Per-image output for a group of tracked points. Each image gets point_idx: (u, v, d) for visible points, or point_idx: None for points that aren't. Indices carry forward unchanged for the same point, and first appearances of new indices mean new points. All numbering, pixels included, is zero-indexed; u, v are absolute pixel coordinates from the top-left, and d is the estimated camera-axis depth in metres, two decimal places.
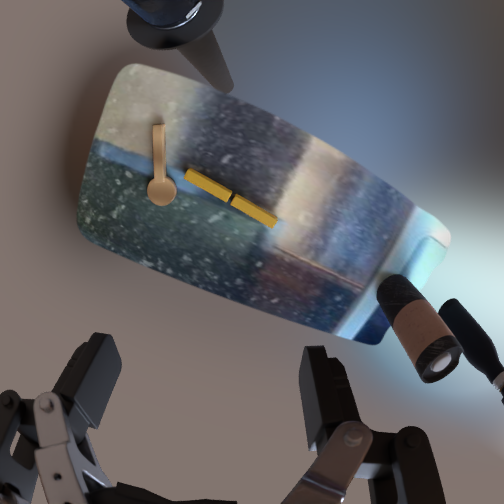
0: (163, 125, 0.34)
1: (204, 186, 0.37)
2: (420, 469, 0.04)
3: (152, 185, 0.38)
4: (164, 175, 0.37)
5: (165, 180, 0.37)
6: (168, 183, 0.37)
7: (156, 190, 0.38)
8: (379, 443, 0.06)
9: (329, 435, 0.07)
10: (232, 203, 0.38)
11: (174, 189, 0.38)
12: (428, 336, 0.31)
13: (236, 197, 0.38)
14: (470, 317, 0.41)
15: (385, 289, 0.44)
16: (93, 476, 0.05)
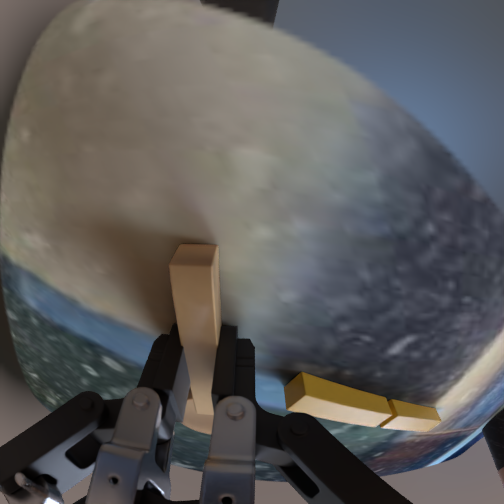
0: (215, 260, 0.09)
1: (338, 416, 0.12)
2: (323, 452, 0.06)
3: (188, 408, 0.12)
4: None
5: None
6: None
7: (200, 416, 0.13)
8: (268, 424, 0.07)
9: None
10: (385, 426, 0.13)
11: None
12: None
13: (397, 417, 0.13)
14: None
15: (499, 427, 0.19)
16: (155, 485, 0.05)
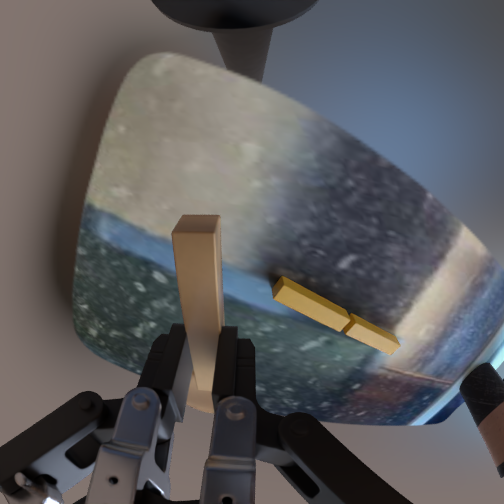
0: (218, 228, 0.09)
1: (309, 311, 0.21)
2: (323, 452, 0.06)
3: None
4: None
5: None
6: None
7: (201, 393, 0.13)
8: (269, 425, 0.07)
9: None
10: (348, 332, 0.22)
11: None
12: None
13: (356, 324, 0.22)
14: None
15: (474, 383, 0.28)
16: (155, 485, 0.05)
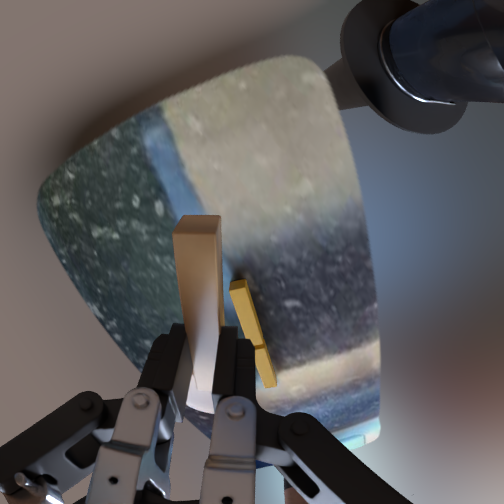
0: (218, 229, 0.09)
1: (243, 317, 0.25)
2: (323, 452, 0.06)
3: None
4: None
5: None
6: None
7: (201, 394, 0.13)
8: (269, 425, 0.07)
9: None
10: None
11: None
12: None
13: (263, 349, 0.27)
14: None
15: None
16: (155, 485, 0.05)
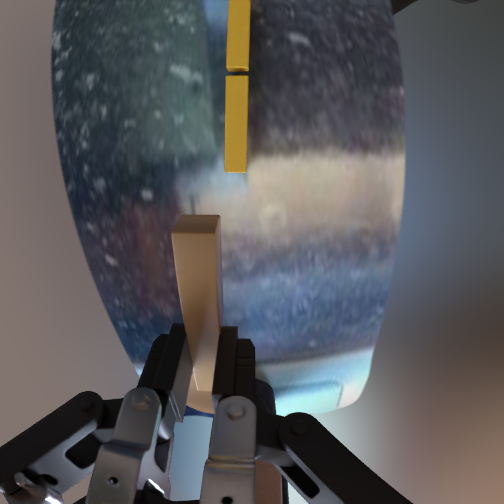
0: (217, 228, 0.09)
1: (234, 20, 0.14)
2: (323, 452, 0.06)
3: None
4: None
5: None
6: None
7: (201, 394, 0.13)
8: (269, 424, 0.07)
9: None
10: (230, 77, 0.16)
11: None
12: None
13: (245, 78, 0.16)
14: (286, 481, 0.32)
15: None
16: (155, 485, 0.05)
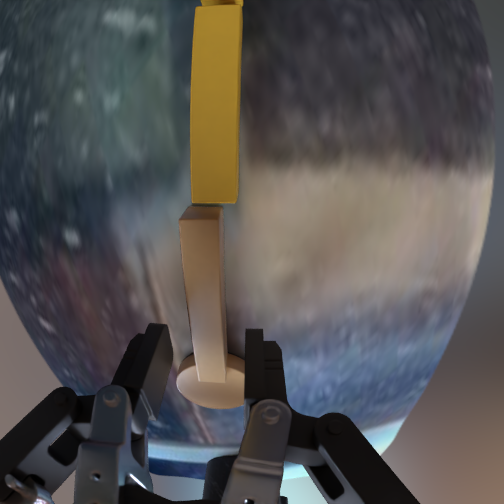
0: (221, 217, 0.10)
1: None
2: (354, 453, 0.05)
3: (190, 377, 0.13)
4: (226, 362, 0.13)
5: (229, 372, 0.13)
6: (237, 378, 0.13)
7: (202, 386, 0.14)
8: (303, 426, 0.07)
9: None
10: (204, 9, 0.06)
11: None
12: None
13: (236, 9, 0.06)
14: None
15: None
16: (136, 480, 0.05)
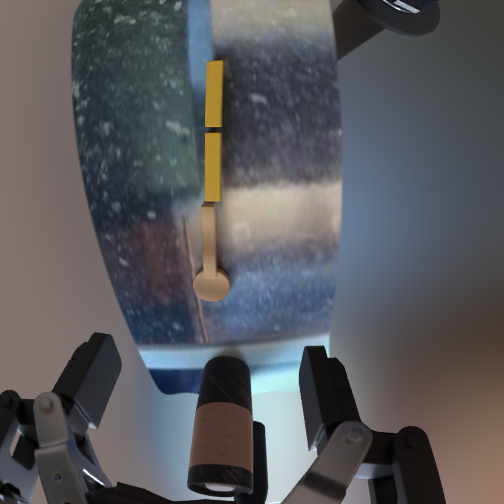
0: (215, 206, 0.28)
1: (210, 89, 0.23)
2: (420, 469, 0.04)
3: (200, 279, 0.32)
4: (216, 269, 0.31)
5: (217, 275, 0.32)
6: (221, 278, 0.32)
7: (205, 285, 0.32)
8: (379, 443, 0.06)
9: (329, 435, 0.07)
10: (208, 134, 0.25)
11: (228, 285, 0.32)
12: (231, 456, 0.23)
13: (218, 134, 0.25)
14: (265, 455, 0.40)
15: (224, 366, 0.36)
16: (93, 476, 0.05)
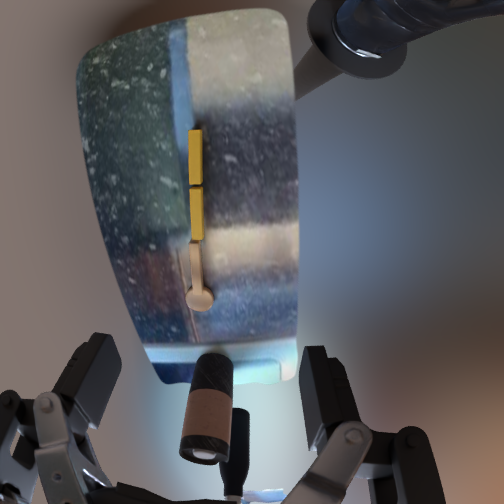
0: (199, 242, 0.38)
1: (192, 154, 0.32)
2: (420, 469, 0.04)
3: (190, 295, 0.41)
4: (202, 287, 0.41)
5: (203, 292, 0.41)
6: (206, 294, 0.41)
7: (194, 299, 0.42)
8: (379, 443, 0.06)
9: (329, 435, 0.07)
10: (191, 190, 0.34)
11: (212, 299, 0.42)
12: (212, 429, 0.33)
13: (199, 190, 0.34)
14: (247, 437, 0.50)
15: (211, 361, 0.46)
16: (93, 476, 0.05)
